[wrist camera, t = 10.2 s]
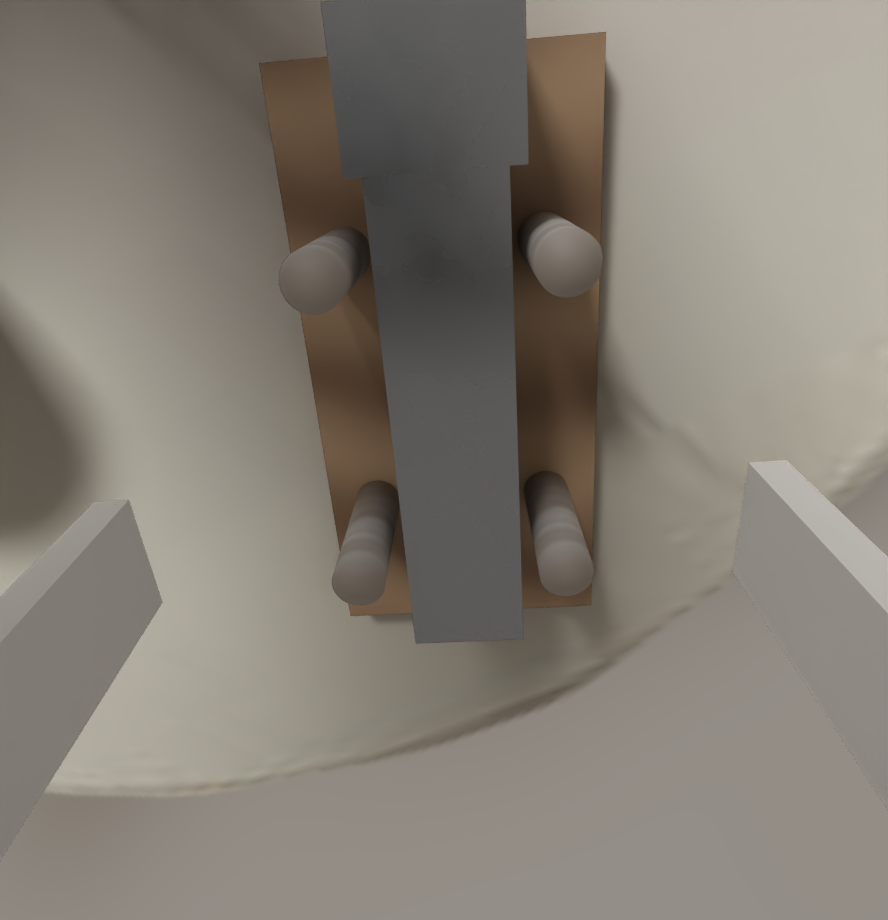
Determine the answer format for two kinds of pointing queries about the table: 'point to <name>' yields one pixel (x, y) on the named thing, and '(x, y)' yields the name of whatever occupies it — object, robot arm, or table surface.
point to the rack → (535, 323)
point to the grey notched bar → (443, 283)
